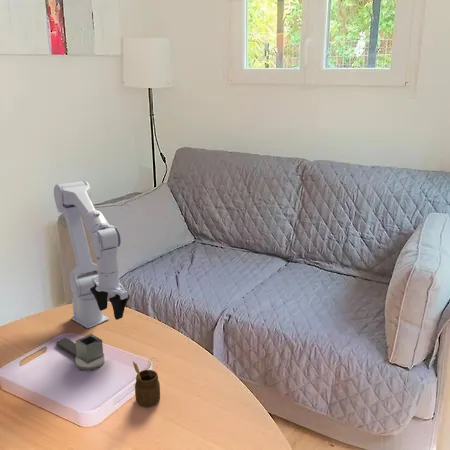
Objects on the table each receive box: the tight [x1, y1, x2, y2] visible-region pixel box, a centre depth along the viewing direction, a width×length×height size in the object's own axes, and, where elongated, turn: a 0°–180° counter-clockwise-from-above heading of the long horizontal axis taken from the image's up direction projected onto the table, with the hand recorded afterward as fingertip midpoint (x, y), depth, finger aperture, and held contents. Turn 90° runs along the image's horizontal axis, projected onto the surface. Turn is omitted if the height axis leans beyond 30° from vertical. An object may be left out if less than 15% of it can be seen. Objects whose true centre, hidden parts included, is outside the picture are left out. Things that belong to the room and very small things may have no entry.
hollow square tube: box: [74, 333, 104, 364], centre depth 137 cm, size 5×5×5 cm
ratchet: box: [55, 337, 105, 372], centre depth 141 cm, size 18×8×4 cm, turn 48°
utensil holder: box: [132, 356, 161, 408], centre depth 122 cm, size 6×6×12 cm
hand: (111, 313), depth 146 cm, fingers open, 7 cm apart
